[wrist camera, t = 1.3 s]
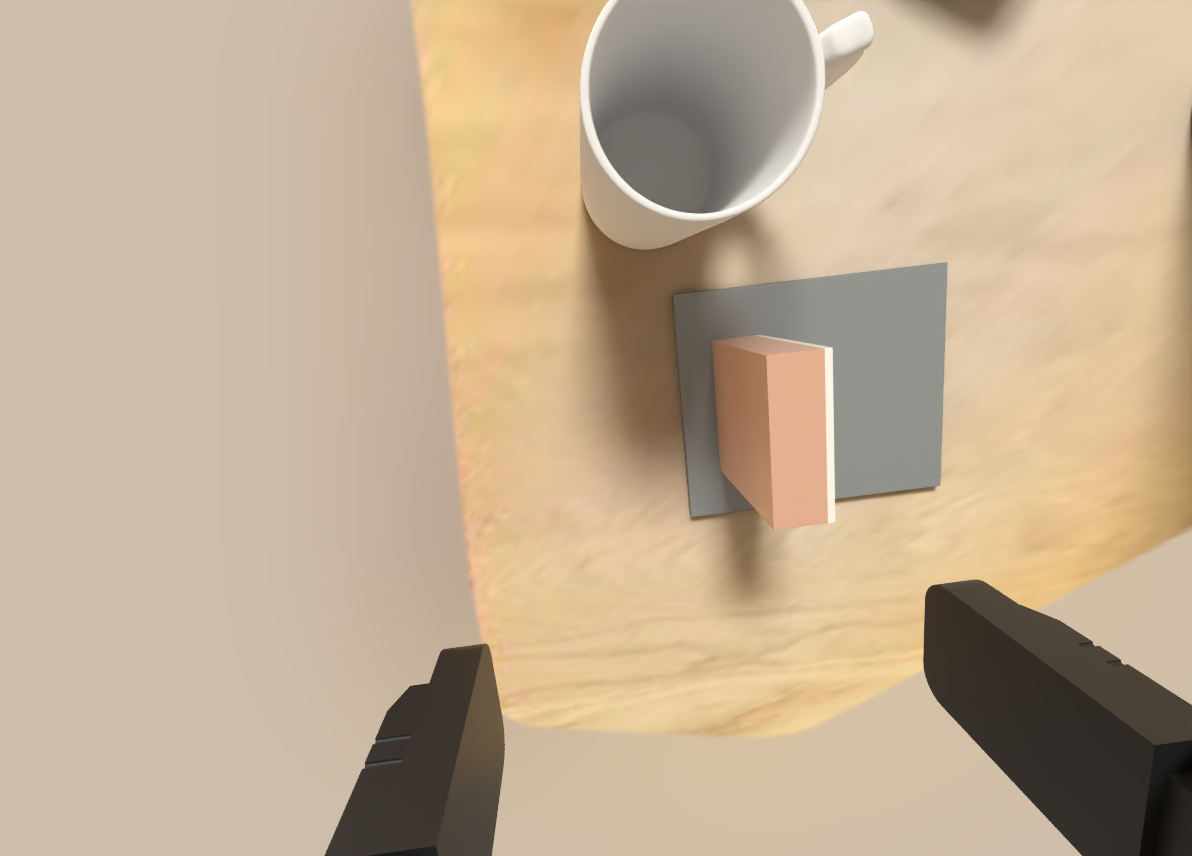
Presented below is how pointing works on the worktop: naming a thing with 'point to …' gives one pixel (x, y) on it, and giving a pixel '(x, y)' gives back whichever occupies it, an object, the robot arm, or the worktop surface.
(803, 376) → the tile
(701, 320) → the mat
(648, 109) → the mug
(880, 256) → the worktop surface
